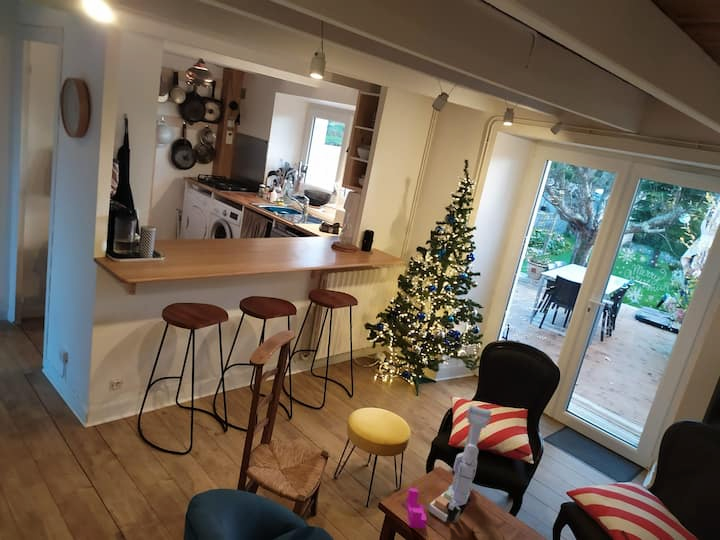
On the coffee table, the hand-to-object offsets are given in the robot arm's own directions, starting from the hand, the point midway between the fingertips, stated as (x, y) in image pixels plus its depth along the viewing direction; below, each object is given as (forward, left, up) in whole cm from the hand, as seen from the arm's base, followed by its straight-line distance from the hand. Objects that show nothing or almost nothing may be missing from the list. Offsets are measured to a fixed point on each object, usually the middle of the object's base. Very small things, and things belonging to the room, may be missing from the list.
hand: (455, 516), depth 225 cm
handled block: (0, -4, -2) cm, 5 cm away
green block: (-7, -7, -2) cm, 10 cm away
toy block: (+11, -13, -3) cm, 17 cm away
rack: (-4, -7, -2) cm, 8 cm away
